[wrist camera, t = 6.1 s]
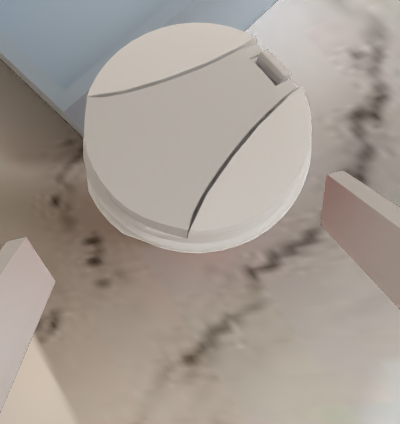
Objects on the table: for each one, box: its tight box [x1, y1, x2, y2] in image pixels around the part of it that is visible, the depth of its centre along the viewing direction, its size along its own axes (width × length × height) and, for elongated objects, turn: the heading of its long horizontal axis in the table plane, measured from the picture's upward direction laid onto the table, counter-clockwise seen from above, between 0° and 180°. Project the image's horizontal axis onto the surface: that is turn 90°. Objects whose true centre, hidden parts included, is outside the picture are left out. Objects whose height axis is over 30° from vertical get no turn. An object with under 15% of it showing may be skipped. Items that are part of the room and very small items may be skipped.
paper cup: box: [83, 22, 312, 253], centre depth 14 cm, size 8×8×14 cm
